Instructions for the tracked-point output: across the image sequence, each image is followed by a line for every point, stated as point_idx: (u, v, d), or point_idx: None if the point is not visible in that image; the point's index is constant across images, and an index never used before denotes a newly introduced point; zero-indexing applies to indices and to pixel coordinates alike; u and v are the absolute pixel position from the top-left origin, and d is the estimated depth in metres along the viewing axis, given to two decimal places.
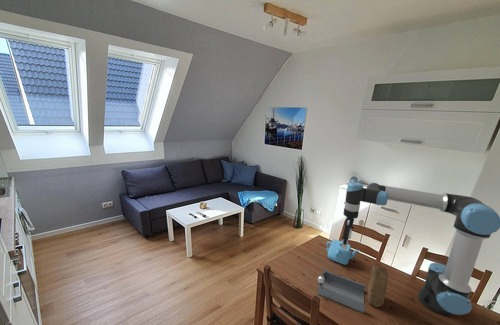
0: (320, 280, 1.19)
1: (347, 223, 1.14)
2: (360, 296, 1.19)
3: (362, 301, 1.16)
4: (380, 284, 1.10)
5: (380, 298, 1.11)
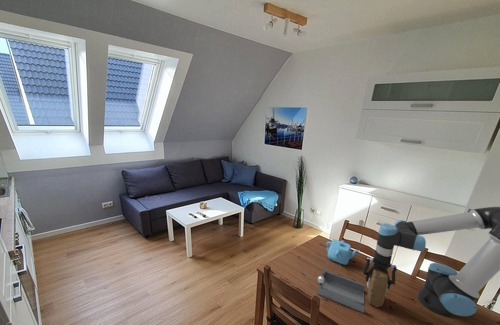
0: (320, 280, 1.19)
1: (367, 259, 1.16)
2: (360, 296, 1.19)
3: (362, 301, 1.16)
4: (380, 284, 1.10)
5: (380, 298, 1.11)
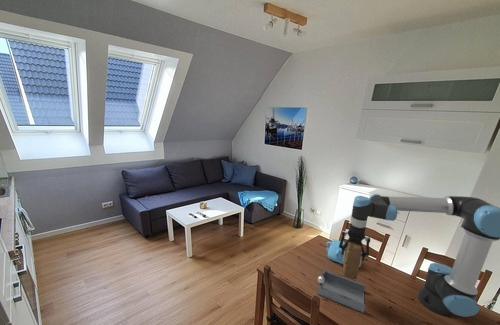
0: (320, 280, 1.19)
1: None
2: (360, 296, 1.19)
3: (362, 301, 1.16)
4: (354, 255, 1.10)
5: (354, 270, 1.11)
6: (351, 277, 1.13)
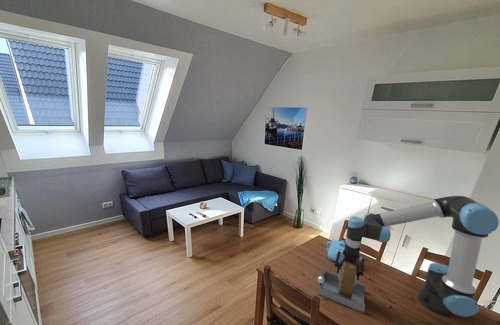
0: (320, 280, 1.19)
1: None
2: (360, 296, 1.19)
3: (362, 301, 1.16)
4: (349, 275, 1.13)
5: (349, 289, 1.14)
6: (346, 296, 1.16)
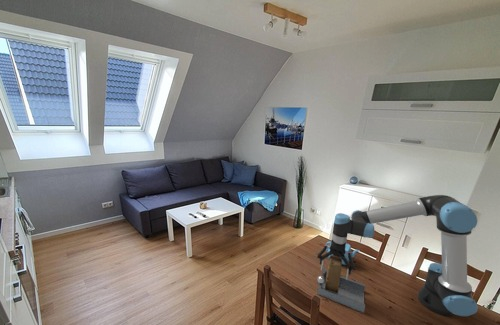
0: (320, 280, 1.19)
1: None
2: (360, 296, 1.19)
3: (362, 301, 1.16)
4: (334, 272, 1.17)
5: (335, 285, 1.17)
6: None
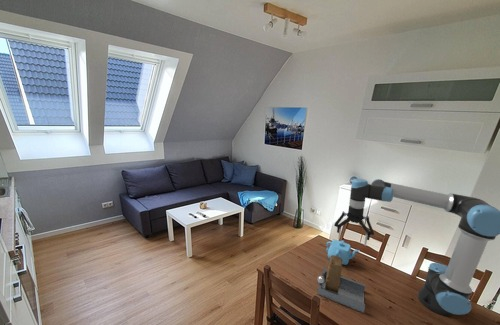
0: (320, 280, 1.19)
1: (342, 213, 1.22)
2: (360, 296, 1.19)
3: (362, 301, 1.16)
4: (334, 272, 1.17)
5: (335, 286, 1.17)
6: None
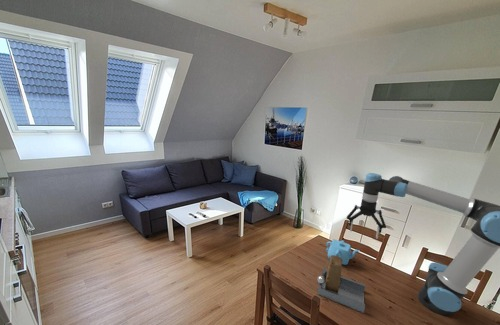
0: (320, 280, 1.19)
1: None
2: (360, 296, 1.19)
3: (362, 301, 1.16)
4: (334, 272, 1.17)
5: (335, 286, 1.17)
6: None
